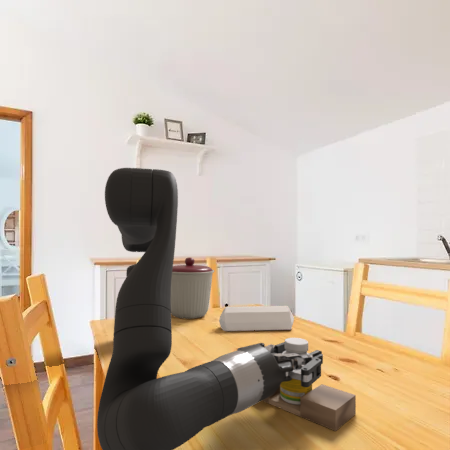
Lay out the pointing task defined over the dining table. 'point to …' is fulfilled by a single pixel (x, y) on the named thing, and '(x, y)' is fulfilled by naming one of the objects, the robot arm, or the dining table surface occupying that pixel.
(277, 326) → the crystal
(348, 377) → the dining table surface
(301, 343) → the supplement bottle
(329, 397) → the brown wooden cradle
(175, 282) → the canister
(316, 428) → the dining table surface
